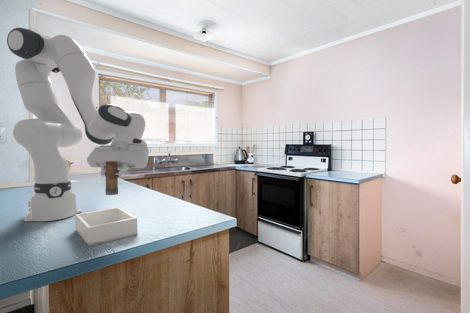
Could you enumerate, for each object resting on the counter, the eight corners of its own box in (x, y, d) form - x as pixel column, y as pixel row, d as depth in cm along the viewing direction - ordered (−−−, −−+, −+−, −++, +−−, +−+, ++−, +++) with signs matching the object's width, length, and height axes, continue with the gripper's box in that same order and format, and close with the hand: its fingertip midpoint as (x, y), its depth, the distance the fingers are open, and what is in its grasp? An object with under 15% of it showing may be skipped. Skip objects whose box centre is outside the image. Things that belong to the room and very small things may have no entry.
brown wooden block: (109, 192, 85) (109, 161, 84) (120, 192, 85) (120, 161, 84) (103, 195, 81) (102, 161, 81) (114, 195, 81) (114, 162, 80)
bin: (75, 230, 84) (75, 214, 83) (119, 221, 93) (118, 207, 93) (88, 246, 70) (88, 227, 70) (137, 234, 80) (137, 217, 80)
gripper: (93, 139, 89) (75, 169, 80) (149, 140, 89) (137, 170, 80) (100, 151, 94) (84, 180, 85) (153, 152, 93) (143, 182, 84)
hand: (110, 175), depth 82 cm, fingers closed on brown wooden block, 4 cm apart
